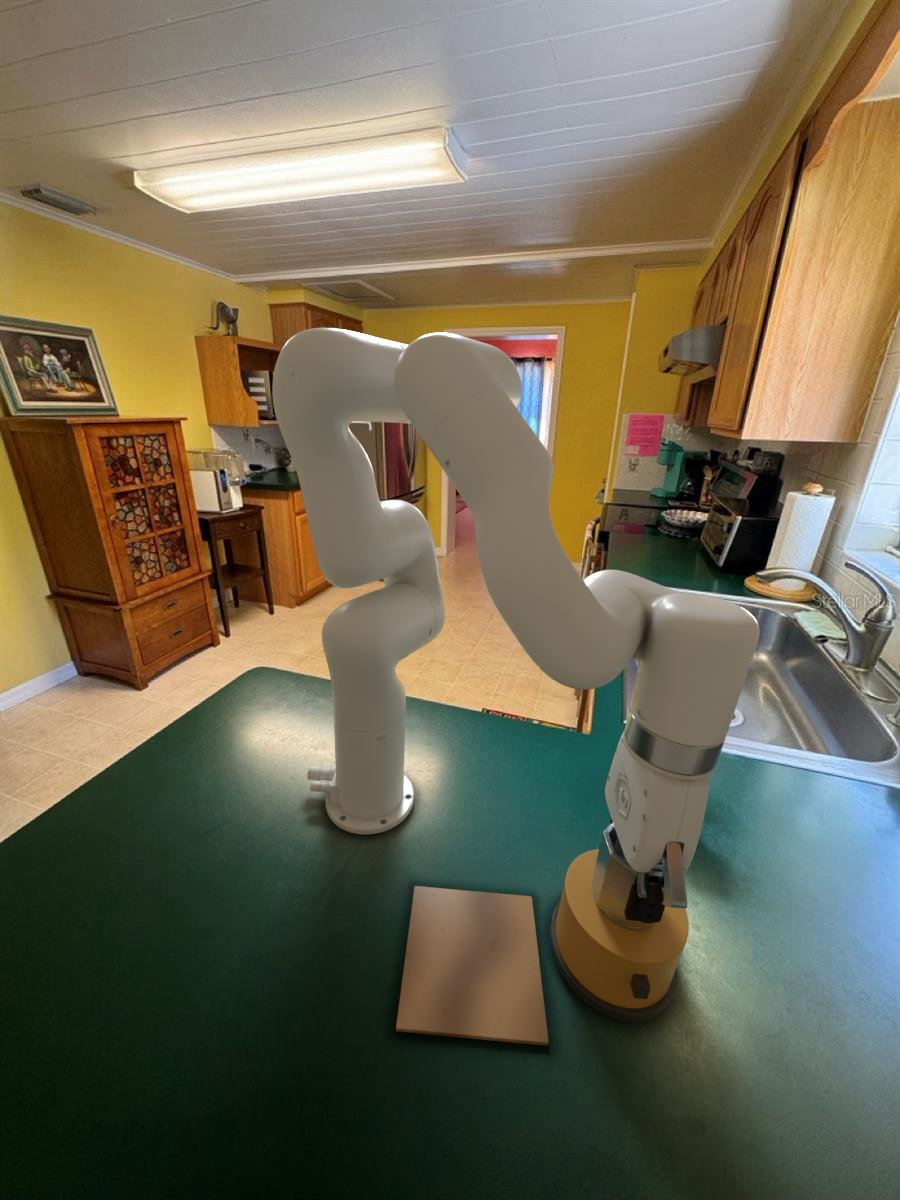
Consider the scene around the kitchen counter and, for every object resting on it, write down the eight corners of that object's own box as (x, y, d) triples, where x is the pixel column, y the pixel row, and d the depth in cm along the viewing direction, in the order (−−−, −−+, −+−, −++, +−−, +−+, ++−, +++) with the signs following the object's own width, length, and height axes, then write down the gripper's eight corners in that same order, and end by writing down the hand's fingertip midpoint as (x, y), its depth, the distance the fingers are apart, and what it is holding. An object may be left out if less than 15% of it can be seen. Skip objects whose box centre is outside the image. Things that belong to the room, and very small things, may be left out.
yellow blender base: (561, 1022, 45) (574, 969, 42) (541, 883, 58) (550, 835, 55) (699, 1036, 44) (722, 983, 41) (648, 893, 57) (663, 845, 55)
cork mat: (395, 1031, 43) (395, 1028, 43) (414, 888, 56) (414, 885, 56) (548, 1046, 43) (549, 1043, 43) (531, 899, 56) (531, 896, 56)
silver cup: (601, 928, 45) (616, 872, 42) (586, 868, 51) (598, 816, 48) (668, 934, 45) (687, 878, 42) (645, 873, 51) (661, 821, 48)
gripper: (602, 680, 49) (575, 811, 55) (665, 811, 33) (615, 974, 39) (675, 685, 48) (639, 816, 55) (775, 820, 32) (706, 983, 39)
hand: (629, 881), depth 47 cm, fingers closed on silver cup, 6 cm apart
